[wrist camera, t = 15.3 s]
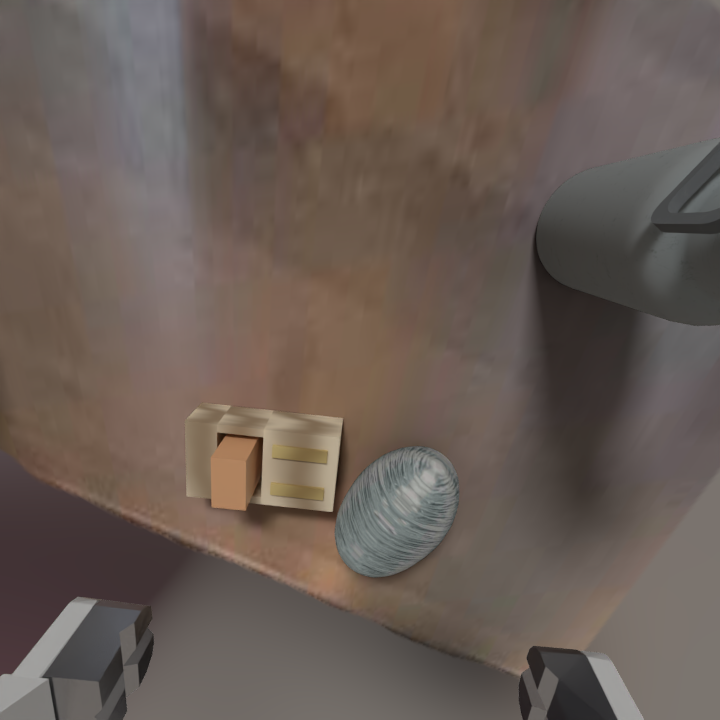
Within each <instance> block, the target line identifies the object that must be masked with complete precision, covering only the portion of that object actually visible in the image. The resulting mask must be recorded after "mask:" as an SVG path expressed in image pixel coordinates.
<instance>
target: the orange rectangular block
mask: <svg viewBox="0 0 720 720" xmlns="http://www.w3.org/2000/svg"><path fill="white" fill-rule="evenodd" d="M262 460H263V437H255V436H246V435H237V434H228V433H227V435H226V436H225V437H224V439H223V440H222V442H221V443H220V445H219V446H218V448H217V449H216V450H215V452H214V453H213V455H212V456H211V503H212V507H214V508H224V509H234V510H245V511H246V509H247V506H248V504H249V502H250V500H251V497H252V495H253V493H254V490H255V488H256V486H257V484H258V481H259V479H260V477H261V475H262Z"/></svg>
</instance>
